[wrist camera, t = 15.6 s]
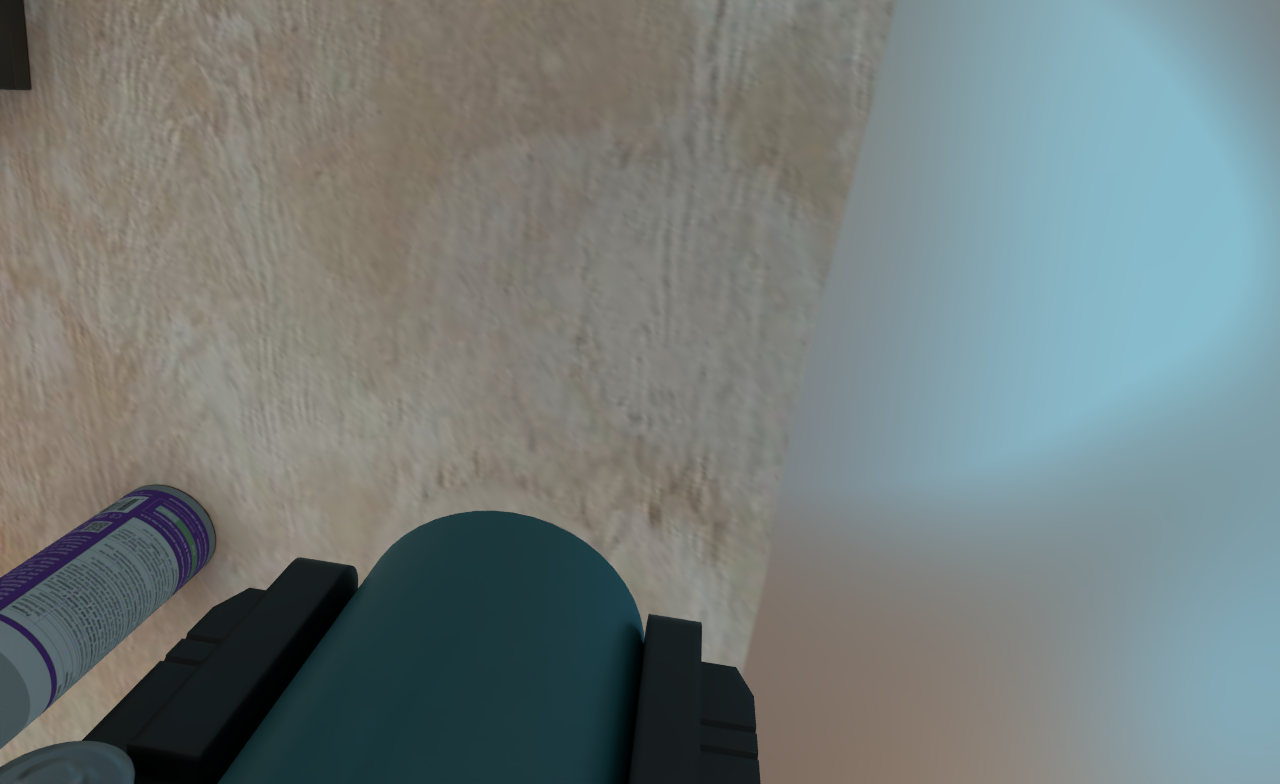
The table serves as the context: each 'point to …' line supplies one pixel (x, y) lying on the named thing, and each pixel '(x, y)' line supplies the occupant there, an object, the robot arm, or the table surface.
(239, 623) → the robot arm
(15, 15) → the chest
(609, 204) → the table surface
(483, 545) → the teal cylinder
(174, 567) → the container
